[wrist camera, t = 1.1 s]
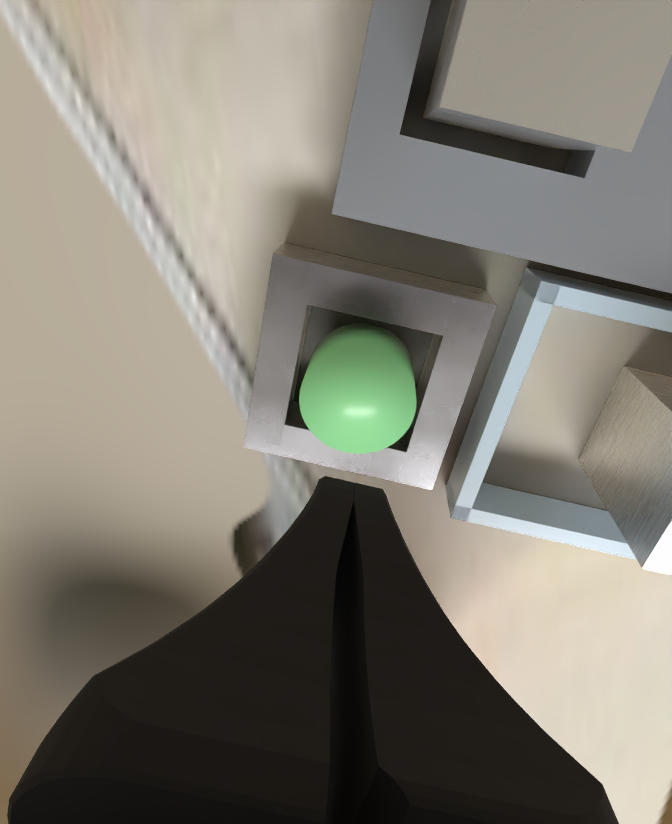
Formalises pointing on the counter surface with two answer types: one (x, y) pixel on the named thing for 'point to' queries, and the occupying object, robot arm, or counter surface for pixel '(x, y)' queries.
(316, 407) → the button
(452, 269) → the counter surface
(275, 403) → the button housing
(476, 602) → the counter surface
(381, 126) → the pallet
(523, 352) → the light blue rectangular frame
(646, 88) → the block
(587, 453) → the billet
